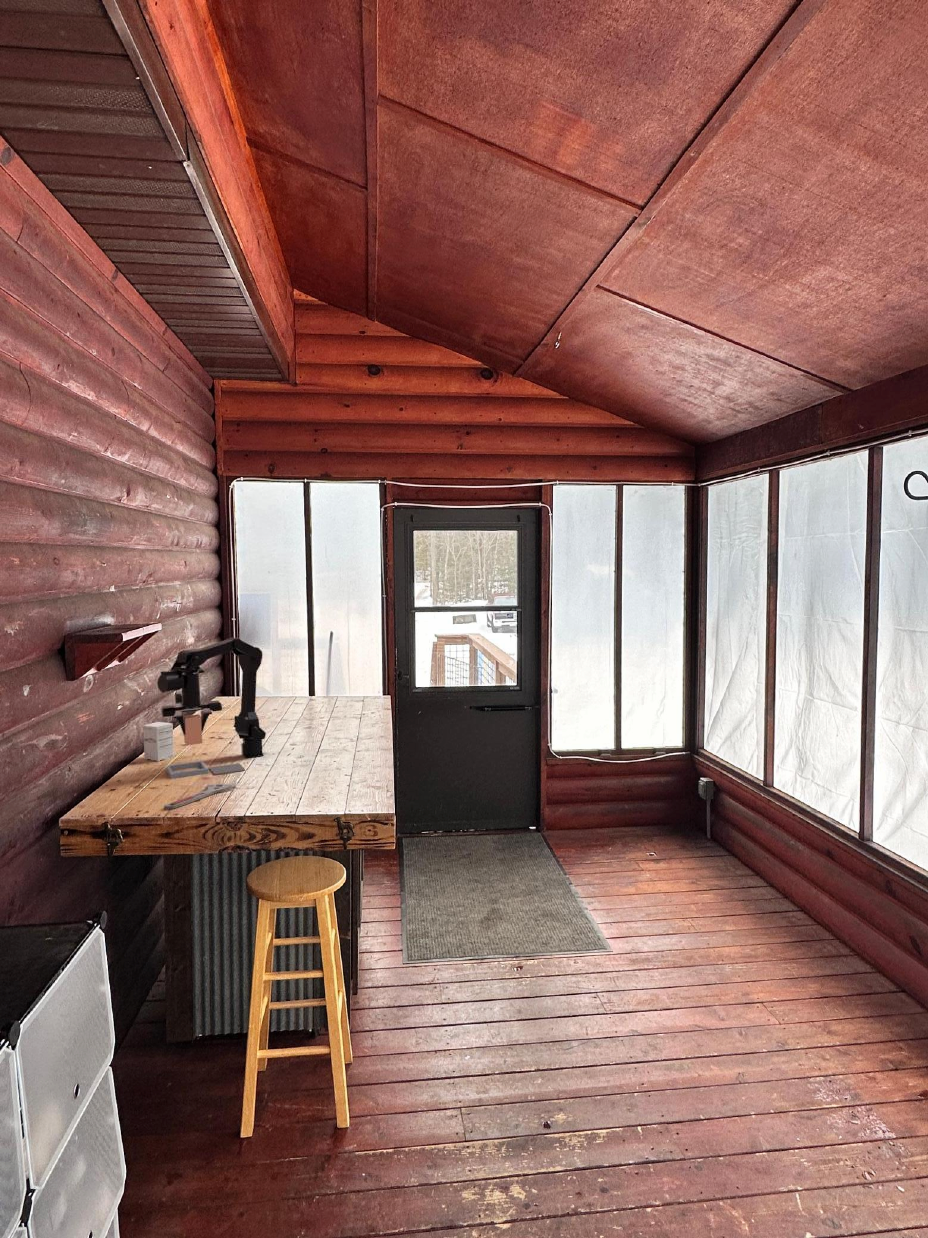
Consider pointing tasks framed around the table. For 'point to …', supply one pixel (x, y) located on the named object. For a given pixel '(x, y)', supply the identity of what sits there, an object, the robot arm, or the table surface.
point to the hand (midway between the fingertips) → (193, 733)
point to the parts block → (192, 729)
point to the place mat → (226, 769)
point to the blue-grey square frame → (187, 773)
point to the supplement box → (158, 741)
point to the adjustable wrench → (203, 794)
